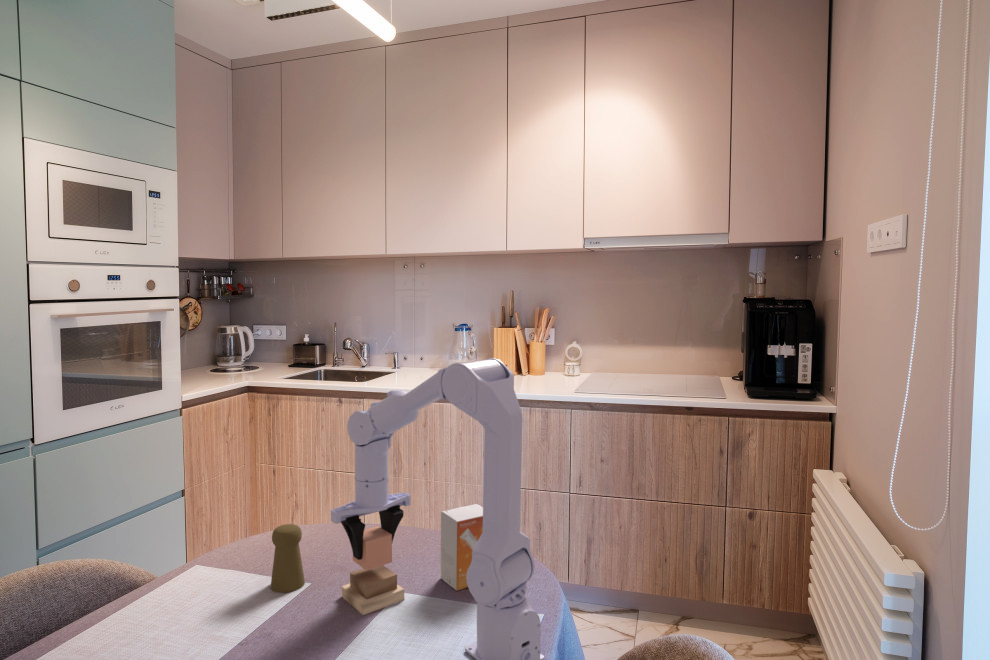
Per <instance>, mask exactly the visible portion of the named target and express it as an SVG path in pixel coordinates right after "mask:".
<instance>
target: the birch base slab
mask: <svg viewBox="0 0 990 660" xmlns="http://www.w3.org/2000/svg"><path fill="white" fill-rule="evenodd" d="M341 597H342V598H343V599H344V600H345V601H346V602H348V603H349V604H350V605H351V606H352V607H353V608H354V609H355V610H357V611H358V612H359V613H360V614H361V615H363V616H364V615H367V614H369V613H372V612H373V613H374V612H375V611H378V610H380V609H383V608H386V607H389V606H392V605H394V604H396V603H400V602H402V601H404V600H405V588H403V587H402V586H401V585H399V584H398V583H397V589H394V590H392V591H389V592H386V593H383V594H380V595H377V596H375V597H372V598H369V599H365V598H364V597H363V596H362V595H360V594H359V593H358V592H357V591H355V590H354V589H353V588H352V587H350V583H347V584H344V585H341Z"/></svg>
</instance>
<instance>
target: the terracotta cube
mask: <svg viewBox="0 0 990 660" xmlns="http://www.w3.org/2000/svg"><path fill="white" fill-rule="evenodd" d="M352 561H353V562H355V563H356V564H357V565H358V566H359V567H361V569H363V568H364V569H365V570H369V569H372V568H376V567H379V566H382V565H384V566H385V565H387V564H388V565H389V564H391V563H393V542H392V534H390V533H389V532H387V531H385V530H384V529H382V528H381V526H379V525H377V526H372V527H370V528H366V529H364V534H363V556H362V559H360V560H358V559H356V558H355V557H354V556H353V555H352Z"/></svg>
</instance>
